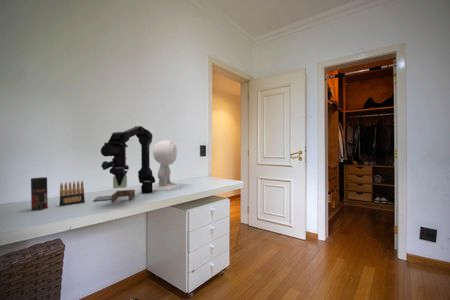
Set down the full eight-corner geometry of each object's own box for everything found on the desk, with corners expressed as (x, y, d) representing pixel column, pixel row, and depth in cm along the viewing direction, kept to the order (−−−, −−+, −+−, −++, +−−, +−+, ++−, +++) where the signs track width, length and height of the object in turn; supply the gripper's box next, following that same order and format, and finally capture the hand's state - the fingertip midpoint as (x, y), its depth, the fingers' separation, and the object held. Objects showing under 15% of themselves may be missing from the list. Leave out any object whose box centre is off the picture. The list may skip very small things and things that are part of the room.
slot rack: (134, 195, 131) (134, 189, 131) (131, 200, 118) (131, 194, 118) (116, 196, 128) (116, 190, 128) (111, 202, 115) (111, 195, 115)
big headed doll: (176, 190, 144) (176, 139, 144) (143, 190, 145) (142, 139, 144) (183, 185, 164) (182, 140, 164) (153, 185, 165) (153, 140, 164)
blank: (126, 186, 116) (126, 175, 116) (125, 187, 112) (125, 176, 112) (114, 187, 114) (114, 175, 114) (113, 188, 111) (113, 176, 110)
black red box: (34, 207, 105) (33, 177, 105) (49, 206, 107) (48, 177, 107) (29, 211, 99) (28, 179, 99) (45, 209, 102) (44, 178, 102)
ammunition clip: (59, 206, 107) (59, 182, 107) (59, 205, 109) (59, 182, 108) (84, 202, 114) (84, 180, 114) (84, 202, 116) (83, 180, 116)
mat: (114, 196, 128) (114, 195, 128) (111, 200, 119) (111, 198, 119) (98, 197, 125) (98, 196, 125) (93, 201, 116) (93, 200, 116)
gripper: (107, 155, 120) (107, 182, 120) (97, 156, 102) (98, 189, 102) (128, 155, 123) (129, 181, 123) (122, 156, 105) (123, 187, 105)
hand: (120, 184), depth 113 cm, fingers closed on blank, 4 cm apart
